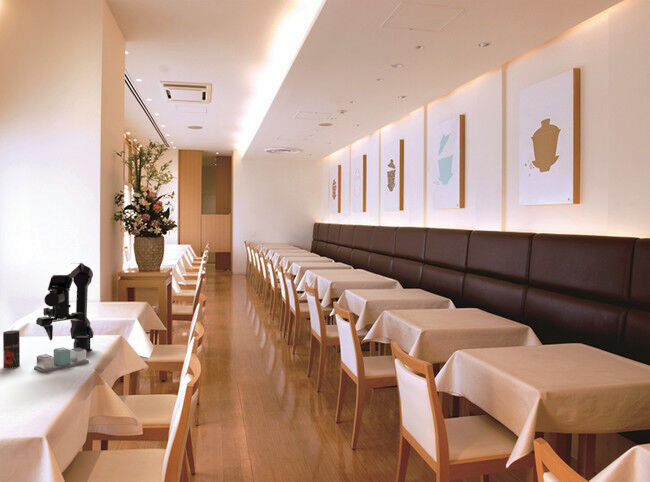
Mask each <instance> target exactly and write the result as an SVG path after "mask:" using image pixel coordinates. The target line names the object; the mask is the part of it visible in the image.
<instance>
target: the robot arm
mask: <svg viewBox="0 0 650 482" xmlns="http://www.w3.org/2000/svg"><path fill="white" fill-rule="evenodd" d="M93 276H94V272H93V270H92V269H91V267H89V266H88V265H85V264H84V263H83V262H76V261H75V262H70V265H69V266H67V268H65V269H64V270H62V271H59V272H55V273H53V275H52V276H51V277H50V281H49V283H48V287H47V291H49V292H48V293H47V294H46V295H45V296H44V303H45V305H46V306H47V307H45V308H43V312H42V313H43V316H41V317H37V318H36V321H35V323H36V325H37V326H39V327H43V329H44V330H45V331H46V334H47V336H48V337H47V338H48V339H49V341H53V333H54V331H53V330H54V326H53V324H52V323H55V322H64V321H69V320H70V324H71V326H70V331H69V332H70V337H71V340H74V341H73V349H74V348H82V349H85V350H86V352H89V351H90V352H91V351H93V349H92V348H91V339H93V338H94V331H93V329H92V327H91V321H90V320H89V318H88V317H87V316H88V314H87V313H88V287H89V286H90V284H91V283H92V280H93ZM73 283H74V285H75V287H76V298H75V299H76V300H75V301H76V302H75V312H71V313H70V308H71V307H72V306H71V304H70V291H71V286H72V285H73ZM50 307H51V308H50Z"/></svg>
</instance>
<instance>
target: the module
mask: <svg viewBox="0 0 650 482" xmlns="http://www.w3.org/2000/svg"><path fill="white" fill-rule="evenodd" d="M53 357H54V363H55V364H58V365H61V366H62V365H67V364H71V359H70V349H69V348H67V347H63V346H61V347H56V348H54V349H53Z"/></svg>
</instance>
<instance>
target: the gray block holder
mask: <svg viewBox="0 0 650 482" xmlns="http://www.w3.org/2000/svg"><path fill="white" fill-rule="evenodd" d="M69 350H70V359H71V364H67V365H62V366H61V365H58V364H55V363H54V355H50V354H47V353H44V354H40V355H36V365H34V366H33V368H34V370H37V371H39V372H41V373H44V374H45V373H49V372H53V371H57V370H63V369H66V368H71V367H76V366H80V365H85V364H89V363H90V360H88V359H87V351H86V350H85V349H82V348H74V347H73V348H71V349H69Z"/></svg>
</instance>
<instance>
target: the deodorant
mask: <svg viewBox="0 0 650 482" xmlns="http://www.w3.org/2000/svg"><path fill="white" fill-rule="evenodd" d="M20 341H21V340H20V330H13V329H12V330H6V331H3V332H2V343H3V344H2V345H3V347H2V350H3V351H2V352H3V359H2V361H3V365H2V366H3V369H16V368H18V367H20V366H21V365H20V364H21V363H20V360H21V358H20V354H21V353H20V352H21V350H20V348H21V347H20V345H21V344H20Z"/></svg>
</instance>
